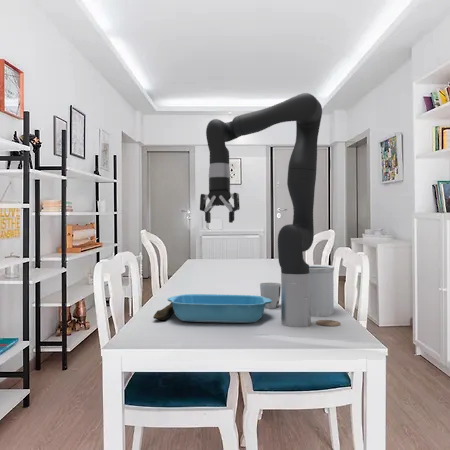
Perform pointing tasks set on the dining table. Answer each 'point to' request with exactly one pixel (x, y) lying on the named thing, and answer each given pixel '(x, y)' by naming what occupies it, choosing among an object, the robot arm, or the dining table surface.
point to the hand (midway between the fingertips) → (219, 222)
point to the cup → (271, 293)
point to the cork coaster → (328, 323)
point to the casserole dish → (219, 307)
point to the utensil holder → (321, 289)
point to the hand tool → (164, 312)
